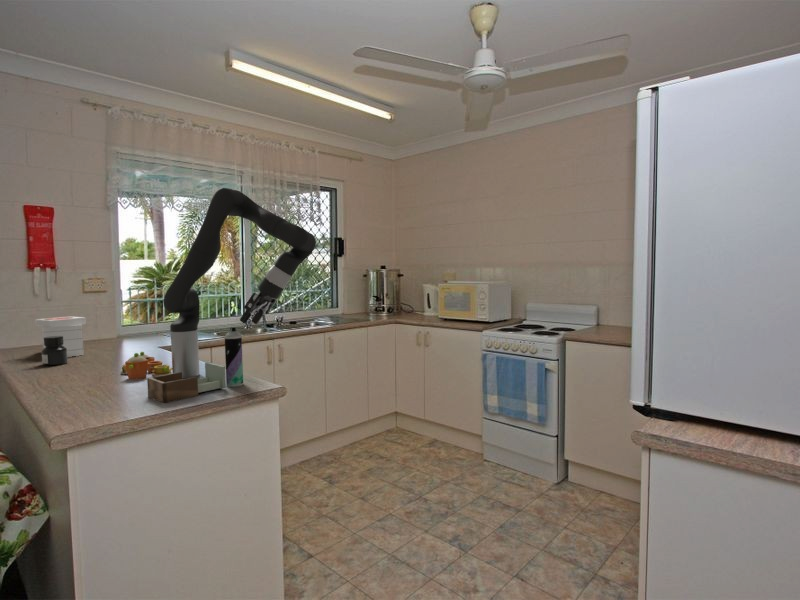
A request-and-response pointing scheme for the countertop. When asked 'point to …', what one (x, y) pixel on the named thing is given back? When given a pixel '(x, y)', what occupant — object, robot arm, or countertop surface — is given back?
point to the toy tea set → (144, 367)
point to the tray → (212, 378)
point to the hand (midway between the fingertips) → (248, 322)
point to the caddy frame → (172, 387)
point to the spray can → (233, 358)
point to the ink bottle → (54, 351)
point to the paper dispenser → (65, 332)
